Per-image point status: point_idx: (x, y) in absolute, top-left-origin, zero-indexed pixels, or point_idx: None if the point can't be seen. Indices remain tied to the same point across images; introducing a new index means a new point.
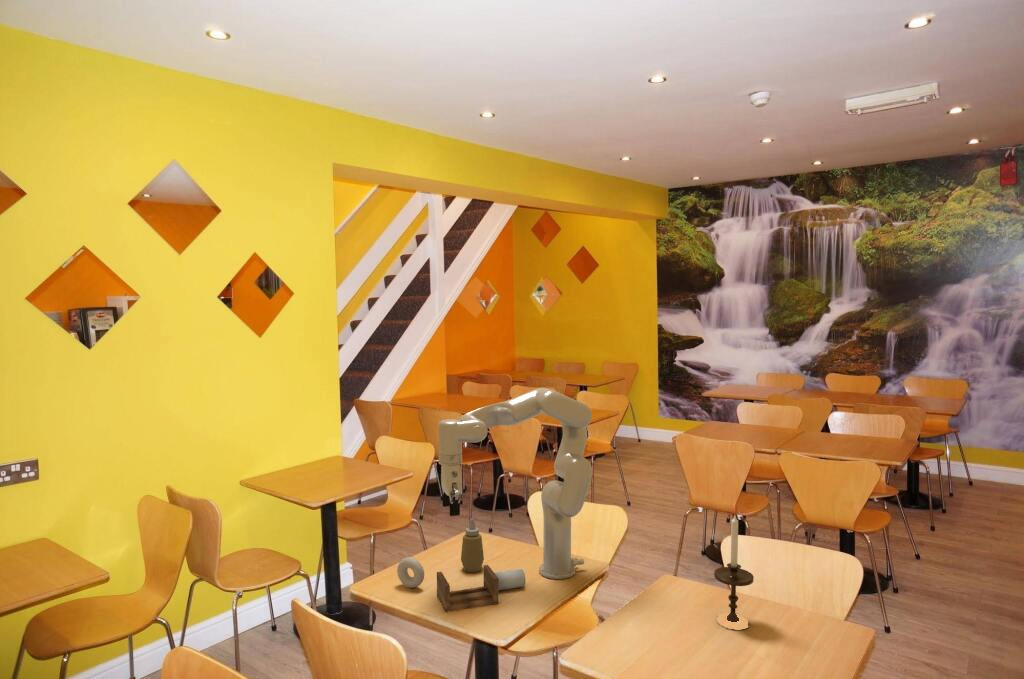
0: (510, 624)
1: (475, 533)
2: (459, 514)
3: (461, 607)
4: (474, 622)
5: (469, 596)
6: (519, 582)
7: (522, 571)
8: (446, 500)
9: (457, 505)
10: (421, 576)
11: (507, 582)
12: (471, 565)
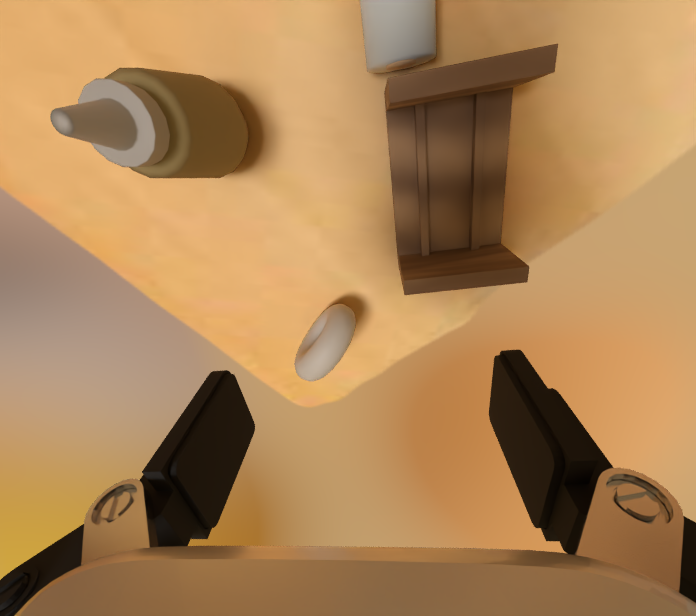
0: (681, 47)
1: (155, 109)
2: (520, 352)
3: (501, 208)
4: (594, 178)
5: (447, 175)
6: None
7: None
8: (228, 455)
9: (605, 461)
10: (354, 317)
11: None
12: (247, 140)
